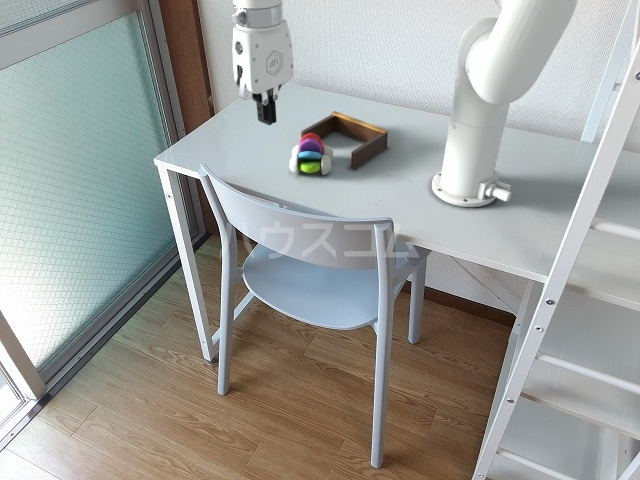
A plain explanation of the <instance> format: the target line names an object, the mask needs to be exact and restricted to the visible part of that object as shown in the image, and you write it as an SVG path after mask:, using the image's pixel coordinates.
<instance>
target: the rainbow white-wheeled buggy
mask: <svg viewBox="0 0 640 480" xmlns="http://www.w3.org/2000/svg"><path fill="white" fill-rule="evenodd" d="M333 158H334V151H333V149H332V147H331V146H329V145H327V144H324V142H323V140H322V139H320V137H319V136H318V135H316V134H314V133H308V134H306V135H304V136H303V137H302V139H300V141H299V144H296V145H295V146H294V147H293V148H292V150H291V158H290V159H289V169H290V171H291V173H293V174H294V175H299V174H300V171H302V172H304V173H309V174H310V173H311V174H312V173H316V172H319V171H321V175H322V176H325V175H327V174H329V173H330V172H331V170H332V161H333Z"/></svg>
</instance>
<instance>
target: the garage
mask: <svg viewBox="0 0 640 480" xmlns="http://www.w3.org/2000/svg"><path fill="white" fill-rule="evenodd" d="M335 132H337V133H339V134H342V135H344V136H347V137H349V138H352V139H354V140H357V141H359V142H362V143H363V144H362V145H360V146H358V147H357V148H355V149H353V150H352V151H351V153H350V169H351V170H353V171H355V170H357V169H358V168H360V167H361V166H363V165H364V164H366V163H367V162H369V161H370V160H372V159H373V158H375V157H376V156H378V155H379V154H381V153H382V152H384V151H386V150H387V148H388V137H389V130H388V129H386V128H384V127H381V126H377V125H376V124H372V123H369V122H367V121H364V120H362V119H359V118H355V117H353V116H350V115H347V114H344V113H342V112H339V111H336V110H334V111H332V112H331V114H330V115H328V116H327V117H325V118H323V119H321V120H319V121H317V122H315V123H314V124H312V125H310V126H308V127H306V128H305V129H303V130H301V131H300V137H301V139H302V137H303V136H304V135H306V134H308V133H314V134H316V135H318V136H319V137H320V139H321V140H322V139H324V138H326V137H328V136H329V135H331V134H333V133H335ZM301 139H300V140H301Z"/></svg>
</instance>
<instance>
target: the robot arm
mask: <svg viewBox="0 0 640 480" xmlns="http://www.w3.org/2000/svg"><path fill="white" fill-rule="evenodd" d="M494 2H495V4H496V6H497V7H498V8H499V10H500V11H501V12H500V14H499V15H498V17H492V16H491V17H484V18H481V19H479V20H477V21H475V22H474V23H471V25H470V26H468V28H467V29H466V30H465V31H464V33H463V34H462V36H461V38H460V40H459V42H458V46H457V49H456V58H455V72H454V73H455V75H454V87H453V88H454V89H453V95H452V97H453V98H452V104H451V111H450V116H449V123H448V129H447V136H446V141H445V148H444V154H443V155H444V156H443V162H442V168H441V171H438V172H437V173H436V174H435V175H434V176H433V178H432V181H431V189H432V192H433V193H434V194H435V195H436V197H438V198H439V199H441V200H442V201H444V202H446V203H448V204H451V205H454V206H458V207H463V208H478V207H483V206H486V205H490V204H491V203H492V202H494V201H495V200H496V199H498V200H500V201H504V202H505V203H508V202H509V201H510V200H511V197H512V194H513V193H512V191H510V190H511V187H512V185H511V184H507V183H505V182H501V181H500V179H499V175H500V172H499V171H498V170H496V166H497V161H498V158H499V153H500V148H501V143H502V139H503V134H504V130H505V126H506V122H507V118H508V115H509V109H510V106H511V105H510V104H512V103H513V102H516V101H517V100H519V99H521V98H523V96H525V95H526V94H527V93H528V92H529V91H530V90H531V89H532V87H533V86H534V85H535V83H536V82H537V80H538V79H539V77H540V76H541V74H542V72H543V70H544V69H545V67H546V65H547V63H548V62H549V60H550V58H551V56H552V54H553V52H554V51H555V49H556V48H557V45H558V43H559V42H560V40H561V39H562V36H563V35H564V34H565V31H566V29H567V28H568V25H569V24H570V22H571V20H572V18H573V16H574V14H575V11H576V7H577V4H578V0H494ZM233 9H234V14H231V16H230V20H231V22H232V23H233V24H234V25H235V26H234V27H233V33H232V65H233V75H234V76H233V77H234V81H235V86H236V87H237V88H239V89H238V90H239V91H238V98H240V99H242V100H243V101H248V100H249V101H250V100H252V101H253V102H255V104H256V114H257V120H258V122H260V123H262V124H265V125H266V126H272V125H273V124H275V123H277V106H276V101H278V100H279V92H280V90H281V88H282V86H284V85H285V84H287V83H288V81H291V80H292V79H293V77H294V74H295V65H294V52H293V44H292V37H291V33H290V29H289V24H288V21H287V19H285V18H284V8H283V0H233Z"/></svg>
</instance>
